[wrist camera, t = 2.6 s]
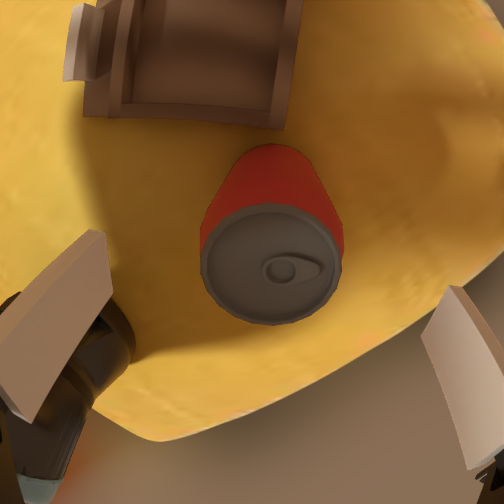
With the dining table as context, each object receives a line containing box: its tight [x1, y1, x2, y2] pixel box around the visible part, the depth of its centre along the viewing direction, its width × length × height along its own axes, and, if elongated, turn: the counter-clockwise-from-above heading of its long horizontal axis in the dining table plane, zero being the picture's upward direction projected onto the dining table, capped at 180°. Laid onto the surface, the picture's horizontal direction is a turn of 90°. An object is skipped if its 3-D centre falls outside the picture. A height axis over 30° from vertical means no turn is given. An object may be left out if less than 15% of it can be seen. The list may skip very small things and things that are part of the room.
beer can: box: [200, 144, 344, 326], centre depth 17 cm, size 7×7×12 cm
